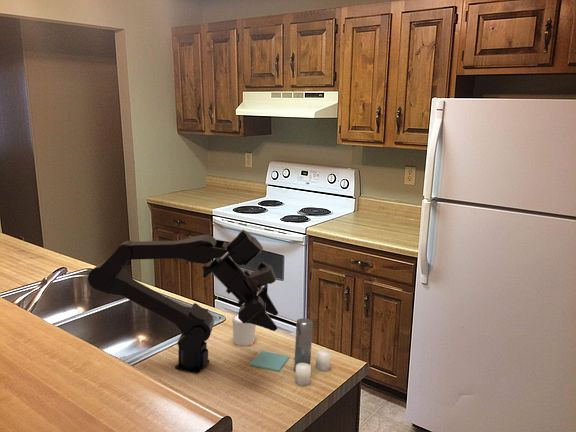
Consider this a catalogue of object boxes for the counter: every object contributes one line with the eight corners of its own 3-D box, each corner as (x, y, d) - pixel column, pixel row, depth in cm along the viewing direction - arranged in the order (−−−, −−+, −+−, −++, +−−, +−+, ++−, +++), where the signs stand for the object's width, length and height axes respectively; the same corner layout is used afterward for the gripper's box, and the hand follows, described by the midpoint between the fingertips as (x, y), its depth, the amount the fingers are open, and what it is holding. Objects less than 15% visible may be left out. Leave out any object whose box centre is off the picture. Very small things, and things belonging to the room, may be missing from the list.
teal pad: (249, 365, 124) (249, 363, 124) (261, 351, 132) (261, 350, 132) (279, 371, 122) (279, 370, 122) (289, 357, 129) (289, 356, 129)
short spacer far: (314, 369, 124) (314, 354, 123) (317, 363, 127) (318, 348, 126) (327, 372, 123) (328, 357, 122) (331, 365, 126) (332, 351, 125)
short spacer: (293, 383, 116) (294, 368, 116) (297, 376, 120) (298, 361, 119) (307, 386, 115) (308, 371, 115) (311, 379, 119) (312, 364, 118)
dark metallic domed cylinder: (291, 372, 122) (294, 323, 119) (296, 364, 125) (299, 317, 123) (307, 375, 120) (310, 326, 118) (311, 368, 124) (314, 320, 122)
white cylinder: (226, 342, 136) (227, 319, 135) (240, 333, 142) (240, 311, 141) (247, 348, 133) (248, 324, 132) (260, 339, 139) (261, 316, 138)
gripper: (254, 267, 108) (301, 315, 110) (259, 245, 126) (299, 287, 129) (218, 299, 109) (265, 346, 112) (228, 273, 128) (268, 314, 130)
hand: (276, 321), depth 120 cm, fingers open, 9 cm apart
